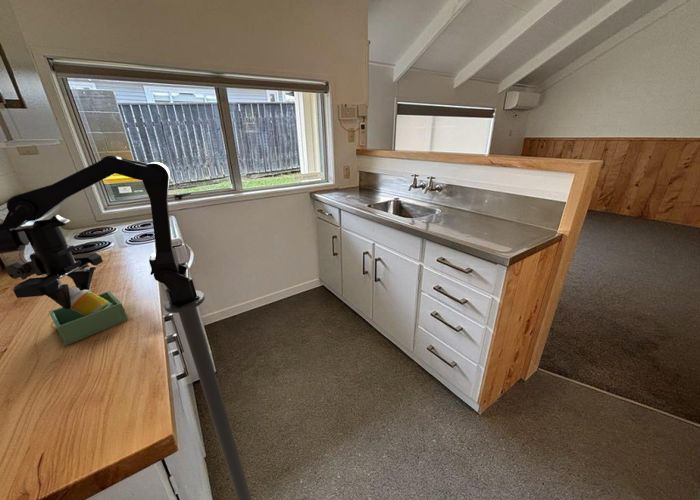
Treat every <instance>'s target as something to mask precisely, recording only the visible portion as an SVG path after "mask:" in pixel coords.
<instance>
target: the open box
mask: <svg viewBox="0 0 700 500" xmlns="http://www.w3.org/2000/svg"><path fill="white" fill-rule="evenodd" d="M97 295H98V296H100V297H102V298H104V299H105V300H107V301H109V302H111V303H112V304H113V306H111V307H108V308H105V309H103V310H100V311H97V312H95V313H92V314H89V315H87V316H84V315H82V314H80V313H78V312H76V311H75V310H73V309H71V308H70V309H64V308H63V307H62V306H60V307H58V308H54V309H52V310H49V311H48V313H49V315H50V318H51V320H52V321H53V323H54V326H55V328H56V330H57V332H58V333H59V335H60V338H61V340H62V341H63V343H64V345H65V346H69V345H71V344H74V343H76V342H78V341H82V339H85V338H88V337H90V336H93V335H94V334H98V333H100V332H102V331H104V330H106V329H109V328H112V327H114V326H116V325H119V324H121V323H123V322H126V321H128V320H129V318H128V315H127V313H126V311H125V308H124V306H123V303H122V302H121V301H120V300H119V299H118V298H117V297H116V296H115V295H114V294H113V293H112V292H111V291H110V290H108V291H104V292H102V293H99V294H97Z"/></svg>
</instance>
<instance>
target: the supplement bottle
mask: <svg viewBox="0 0 700 500" xmlns="http://www.w3.org/2000/svg"><path fill="white" fill-rule="evenodd" d="M69 294H70V301H71V309H73V310H75V311H76V312H78V313H80V314H82V315H84V316H87V315H89V314H92V313H95V312H97V311H100V310H103V309H105V308H108V307H111V306H113V304H112V303H111V302H109V301H107V300H105V299H104V298H102V297H100V296H98V295H99V294H96V293H94V292H93V291H91V290H90V289H89V290H82V291H80V290H79V289H78V288H77V287H76V285H72V286H71V287H69Z"/></svg>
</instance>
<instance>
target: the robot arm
mask: <svg viewBox="0 0 700 500" xmlns="http://www.w3.org/2000/svg"><path fill="white" fill-rule="evenodd" d="M112 175H118V176H119V175H120V176H123V177H128V178H131V179H134V180H139V181H141V182H142V183H143V187H144V189H145V192H146V194H147V196H148V198H149V202H150V210H151V219H152V227H153V235H154V242H155V243H154V244H155V253H150V257H149V260H148V262H149V266H150V269H151V271H150V274H149V275H151V276H152V275H153V279H154V280H155V281H157V282H158V283H160V284H163V285H164V286H165V288H166V289H165V290H164V292H165V295H166V298H167V300H168V301H169V303H171V304H172V305H174V306H176V307H177V308H178V307H181V306H183V305H185V304H188V303H190V302H192V301H194V300H197V299H199V298H200V297H199V296H198V295H197V294H196V291H197V290H196V287H195V283H194V281H193V278H192V277H190V274H189V272H190V271H189V267H187V266H185V265H183V264H180V263H179V260H178V258H177V254H176V252H175V250H174V248H173V240H172V231H171V221H170V212H169V202H168V197H169V196H168V195H169V187H170V178H171V171H170V170H169V168H168V167H167V165H165V164H164V163H162V162H159V161H151V162H149V163H147V162H142V161H138V160H134V159H129V158H124V157H120V156H118V155H115V154H114V155H113V154H111V155H106V156H104V157H102V158H101V159H100V160H98V161H96V162H93V163H92V164H90V165H88V166H86V167H84V168H82V169H80V170H78V171H76V172H74V173H72V174H70V175H68V176H66V177H64V178H62V179H60V180H58V181H55V182H54V183H52V184H49V185H45V186H41V187H39V188H38V187H37V188H36V189H35V188H34V189H31V190H29V191H24V192H22V193H19V194H16V195H13V196H10V197H9V198H8V199H7V200H6V208H7V209H6V210H7V211H8V212H7V214H6V216H5V217H4V219H3V221H2V222H0V255H2V254H8V253H14V252H21V251H22V252H23V251H24V250H25V249H26V246H28V245H29V244H30V246H31V248H32V250H33V253H31V254H29V259H30V260H29V261H27V262H25V263H23V264H22V263H21V262H19V261H16V262H14V263H12V264H9V265H7V266H5V267H4V269H5V271H6V274H7V275H8V276H9V278H11V279H13V280H17V279H19V278H20V279H21V280H22V282H19V283H17V284H16V285H14V287H13V288H12V292H13V294H14V295H15V297H16V298H17V299H21V298H33V297H34V298H35V297H43V296H46V297H48V298H50V299H51V300H52V301H54V302H55V303H56V304H58V305H59V306H60V307H63V308H64V309H70V308H71V301H70V294H69V288H70V287H69V284H68V283H65V284H64V283H63V284H62V282H61V279H63V278H64V277H66V276H67V277H68V278H70V279H71V281H73V283H74V286H75V287H77V288H78V289H79V290H80V291H82V290H89V291H90V288H91V284H92V280H93V276H94V273H95V270H97V267H96V266H98V265H100V264H101V263H103V262H104V260H103V257H102V255H100V254H99V253H97V252H89V253H88V252H86V253H78V254H76V255H73V253H72V251H74V250H76V247H75V246H74V245H73V244H72V245H69V244H68V242H67V239H66V238H65V235H64V233H63V230H62V229H61V227H64V226H67V225H68V224H69V223H70V222H71V220H70V219H68V218H66V217H62V216H61V215H59V214H55V215H53V216H52V218H47V219H42V218H43V217H45V216H47V215H49V214H50V213H52V212H53V211H55V210H56V209H57V208H59V207H60V206H61V205H62V204H63V203H65V202H66V201H67V200H68V199H69V198H70V197H72V196H74V195H77V194H78V193H80V192H81V191H83V190H86V189H88V188H89V187H92V186H94V185H95V184H97V183H99V182H101V181H103V180H105V179H107V178H109V177H111V176H112ZM33 221H34V222H33ZM29 222H33V223H32V224H30V225H29V224H28V225H25V224H26V223H29ZM89 264H90V265H92V266H90V265H89ZM33 275H35V276H37V277H31V276H33ZM44 275H46V276H44ZM40 276H41V277H40ZM29 277H30V278H29ZM195 290H196V291H195Z"/></svg>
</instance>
